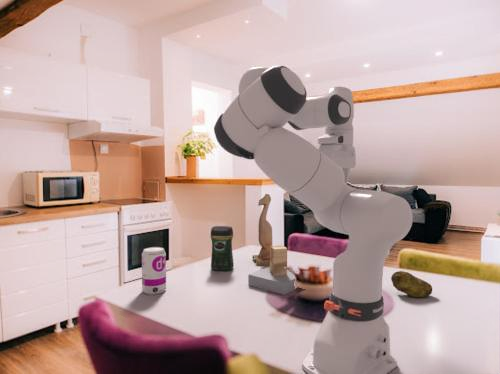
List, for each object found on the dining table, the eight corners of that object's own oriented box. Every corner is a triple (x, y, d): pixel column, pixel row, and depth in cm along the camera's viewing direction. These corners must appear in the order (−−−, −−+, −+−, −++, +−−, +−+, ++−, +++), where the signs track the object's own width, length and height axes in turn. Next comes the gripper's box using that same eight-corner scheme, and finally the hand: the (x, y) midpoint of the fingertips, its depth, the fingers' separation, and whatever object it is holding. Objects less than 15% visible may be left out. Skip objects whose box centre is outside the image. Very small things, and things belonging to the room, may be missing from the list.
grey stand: (284, 294, 121) (284, 283, 121) (248, 284, 132) (248, 274, 131) (307, 282, 134) (307, 272, 134) (273, 274, 144) (273, 265, 144)
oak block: (287, 274, 131) (287, 248, 130) (274, 276, 129) (274, 249, 129) (282, 271, 136) (282, 245, 135) (269, 272, 134) (269, 246, 134)
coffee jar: (235, 266, 155) (235, 225, 154) (230, 272, 147) (230, 228, 146) (214, 265, 157) (214, 224, 156) (208, 270, 149) (208, 227, 148)
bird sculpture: (250, 260, 168) (248, 193, 165) (274, 257, 170) (272, 192, 168) (256, 266, 157) (254, 195, 154) (281, 264, 160) (280, 194, 157)
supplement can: (170, 290, 125) (170, 249, 124) (150, 297, 119) (149, 253, 118) (158, 285, 131) (157, 245, 130) (137, 291, 125) (137, 249, 124)
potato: (432, 302, 115) (432, 278, 114) (389, 296, 121) (390, 273, 120) (432, 294, 122) (432, 271, 122) (392, 288, 128) (392, 266, 127)
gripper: (343, 141, 124) (342, 181, 125) (315, 138, 108) (314, 183, 109) (360, 141, 120) (360, 181, 121) (334, 137, 104) (333, 183, 105)
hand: (338, 182), depth 115 cm, fingers open, 8 cm apart
